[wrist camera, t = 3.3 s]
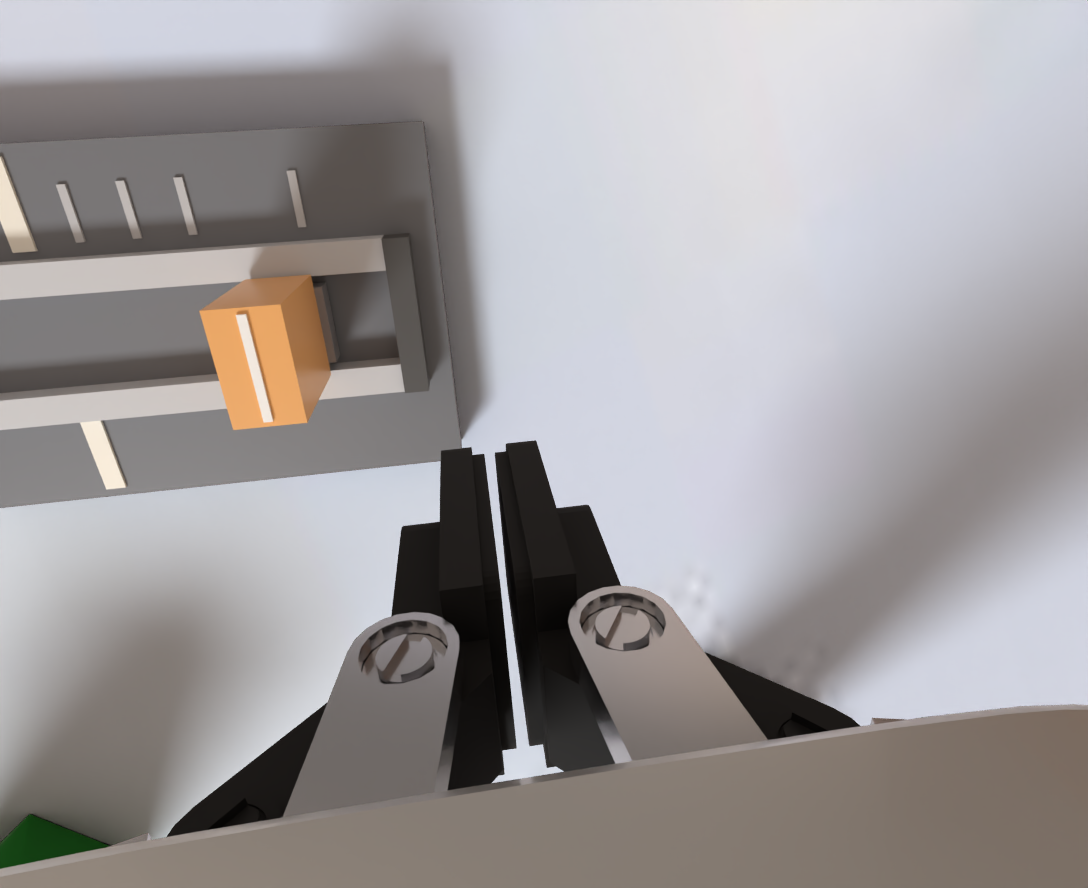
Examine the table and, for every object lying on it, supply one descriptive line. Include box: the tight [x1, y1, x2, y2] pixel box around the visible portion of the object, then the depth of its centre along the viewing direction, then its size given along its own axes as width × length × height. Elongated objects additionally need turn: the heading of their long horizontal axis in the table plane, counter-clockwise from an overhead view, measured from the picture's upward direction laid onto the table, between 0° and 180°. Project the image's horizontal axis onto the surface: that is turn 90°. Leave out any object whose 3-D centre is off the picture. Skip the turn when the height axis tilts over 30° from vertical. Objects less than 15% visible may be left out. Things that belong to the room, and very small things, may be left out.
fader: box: [199, 275, 340, 430], centre depth 23 cm, size 3×4×6 cm
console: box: [0, 121, 462, 508], centre depth 26 cm, size 22×14×3 cm, turn 93°
